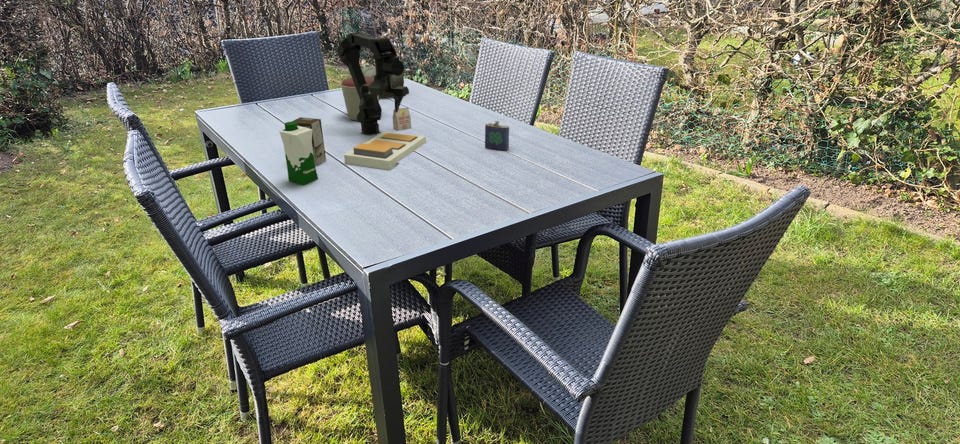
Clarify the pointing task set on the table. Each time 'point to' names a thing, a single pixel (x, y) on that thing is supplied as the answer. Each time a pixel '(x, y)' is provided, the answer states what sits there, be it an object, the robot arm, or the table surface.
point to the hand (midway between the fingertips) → (386, 111)
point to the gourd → (394, 79)
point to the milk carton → (299, 153)
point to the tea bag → (401, 119)
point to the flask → (496, 137)
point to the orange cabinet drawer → (399, 137)
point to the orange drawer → (389, 144)
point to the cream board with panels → (389, 161)
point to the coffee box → (314, 137)
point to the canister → (352, 96)
